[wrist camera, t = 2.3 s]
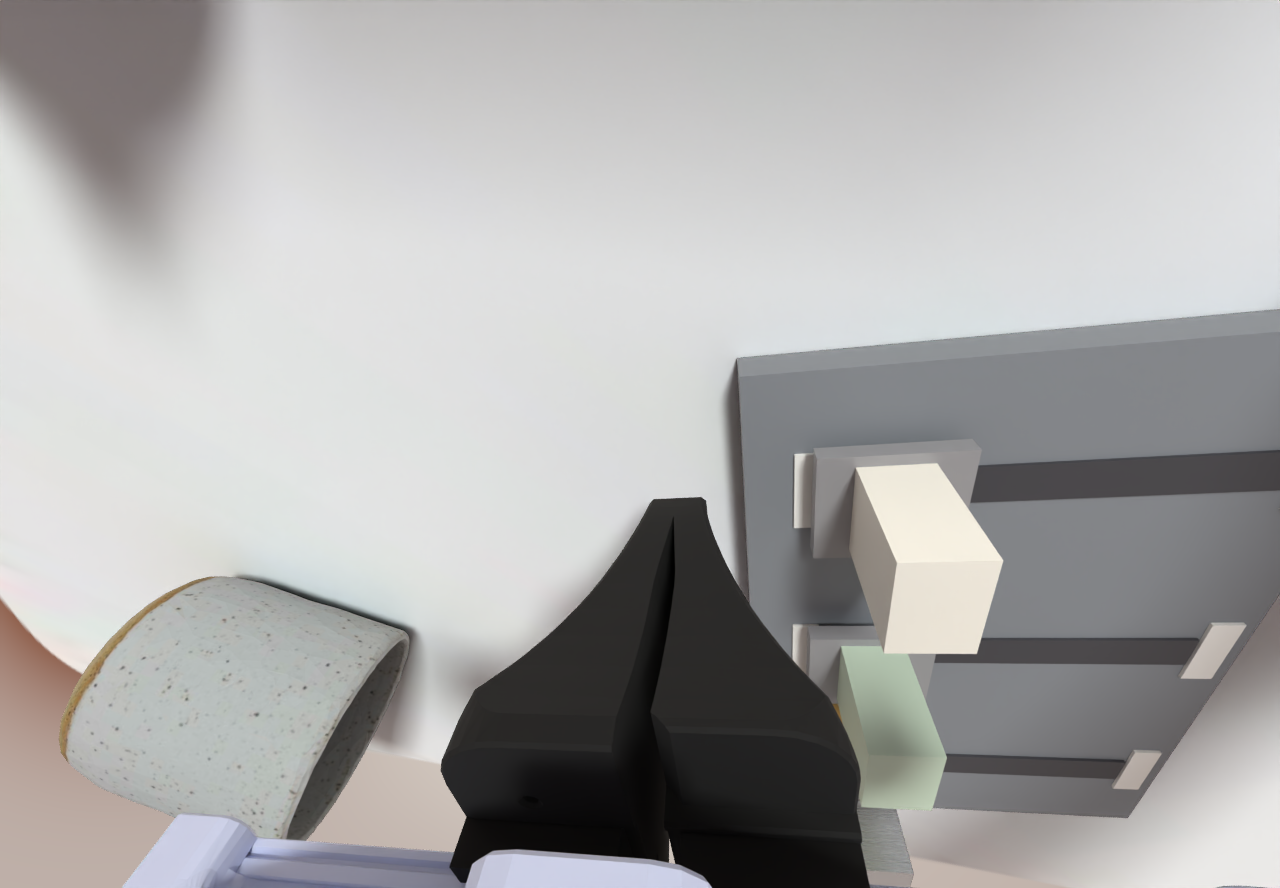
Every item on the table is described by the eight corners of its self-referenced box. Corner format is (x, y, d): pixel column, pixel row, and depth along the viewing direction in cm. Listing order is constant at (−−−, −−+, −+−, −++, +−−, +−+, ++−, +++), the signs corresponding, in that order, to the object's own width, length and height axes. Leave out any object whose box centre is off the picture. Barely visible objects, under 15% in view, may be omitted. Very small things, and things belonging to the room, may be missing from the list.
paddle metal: (907, 747, 19) (946, 872, 16) (897, 792, 20) (931, 913, 17) (803, 743, 19) (822, 863, 16) (802, 788, 21) (819, 904, 18)
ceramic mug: (214, 526, 19) (-23, 722, 13) (420, 594, 20) (288, 811, 14) (238, 674, 25) (79, 860, 19) (399, 723, 25) (297, 919, 19)
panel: (1398, 298, 11) (1538, 333, 9) (1107, 784, 21) (1146, 848, 19) (737, 358, 13) (741, 394, 12) (757, 769, 24) (762, 825, 22)
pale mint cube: (933, 625, 15) (990, 752, 12) (918, 691, 17) (966, 817, 14) (807, 626, 16) (831, 747, 13) (805, 689, 18) (826, 810, 15)
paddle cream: (972, 438, 12) (1063, 546, 9) (950, 541, 14) (1021, 663, 11) (813, 448, 13) (847, 552, 10) (810, 546, 14) (838, 662, 11)
